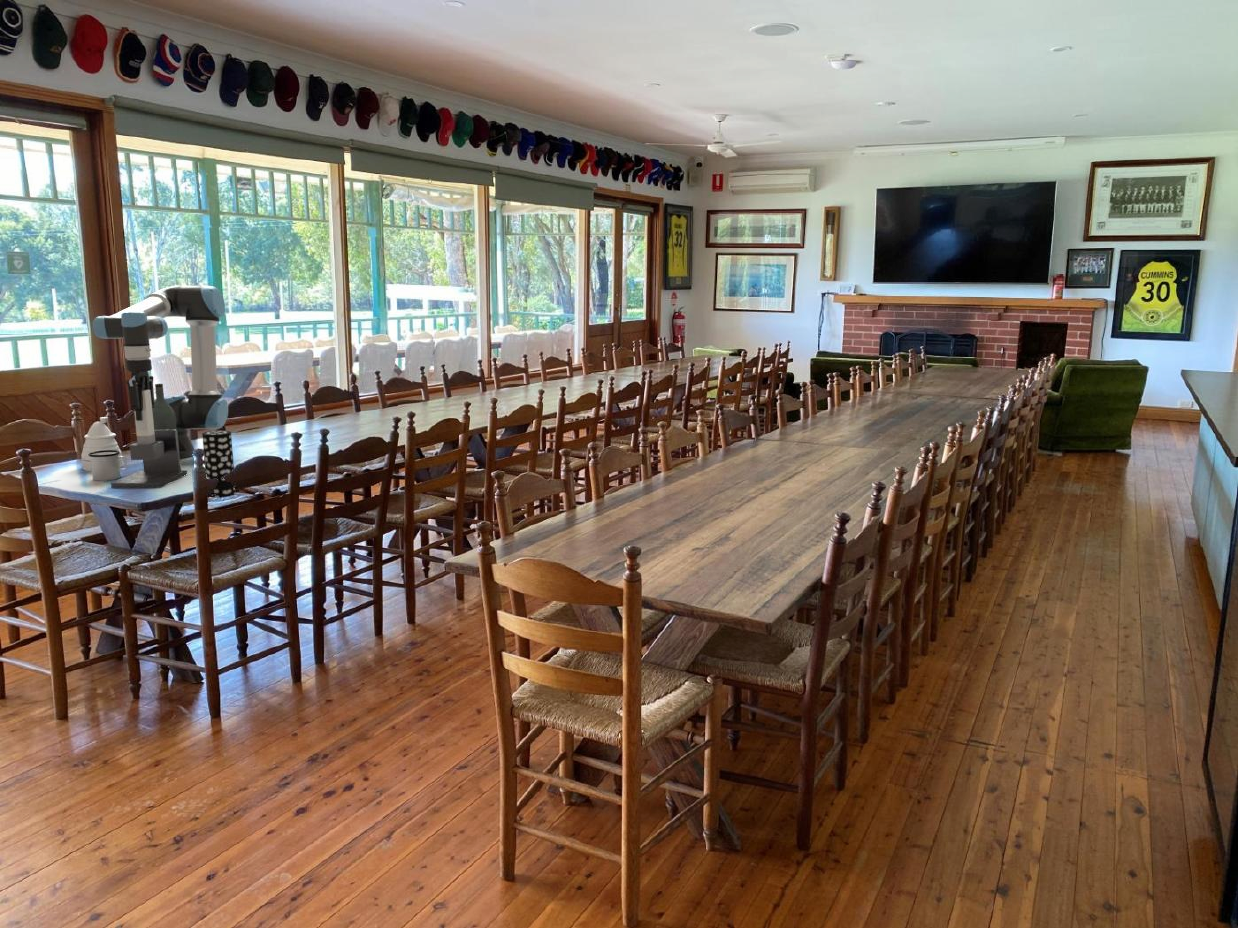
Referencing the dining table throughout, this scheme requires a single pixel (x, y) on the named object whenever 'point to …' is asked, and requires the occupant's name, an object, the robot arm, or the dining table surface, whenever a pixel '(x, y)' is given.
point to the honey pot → (98, 443)
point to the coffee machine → (155, 462)
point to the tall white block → (146, 435)
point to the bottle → (163, 412)
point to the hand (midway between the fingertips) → (145, 428)
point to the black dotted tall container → (219, 460)
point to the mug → (106, 465)
